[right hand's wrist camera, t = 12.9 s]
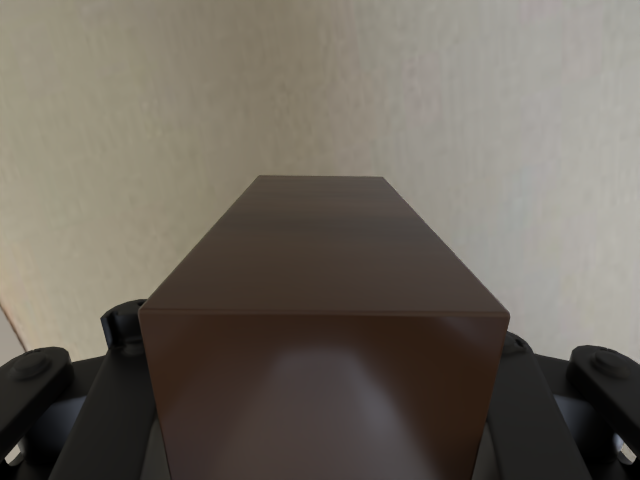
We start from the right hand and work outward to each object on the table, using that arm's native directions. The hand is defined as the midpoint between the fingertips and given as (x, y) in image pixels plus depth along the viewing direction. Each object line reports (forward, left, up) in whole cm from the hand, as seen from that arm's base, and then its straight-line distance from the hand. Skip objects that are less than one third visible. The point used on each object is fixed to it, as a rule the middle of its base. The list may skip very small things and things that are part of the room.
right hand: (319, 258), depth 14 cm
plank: (+10, 0, -1) cm, 10 cm away
